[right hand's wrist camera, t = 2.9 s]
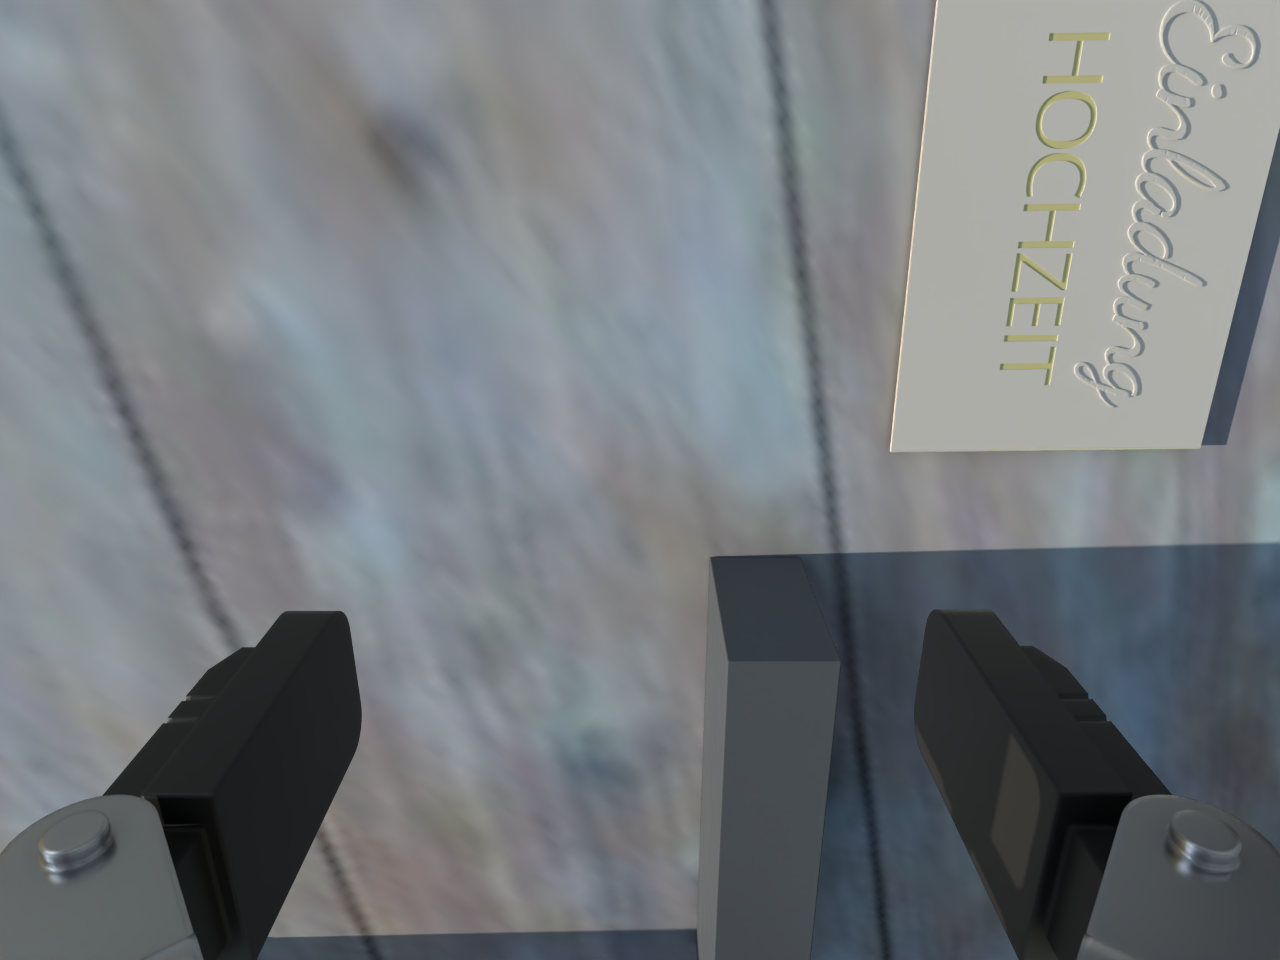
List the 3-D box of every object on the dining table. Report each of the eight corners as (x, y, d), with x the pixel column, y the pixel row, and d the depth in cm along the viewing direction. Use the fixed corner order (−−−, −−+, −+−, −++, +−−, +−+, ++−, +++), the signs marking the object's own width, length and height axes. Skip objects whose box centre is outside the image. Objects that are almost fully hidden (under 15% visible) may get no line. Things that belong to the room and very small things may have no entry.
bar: (709, 556, 43) (727, 661, 34) (800, 556, 43) (841, 661, 34) (696, 946, 53) (707, 1104, 44) (769, 946, 53) (795, 1105, 44)
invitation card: (944, -60, 33) (1328, -65, 32) (942, -58, 33) (1323, -63, 33) (891, 452, 40) (1201, 449, 40) (889, 450, 41) (1197, 447, 40)
